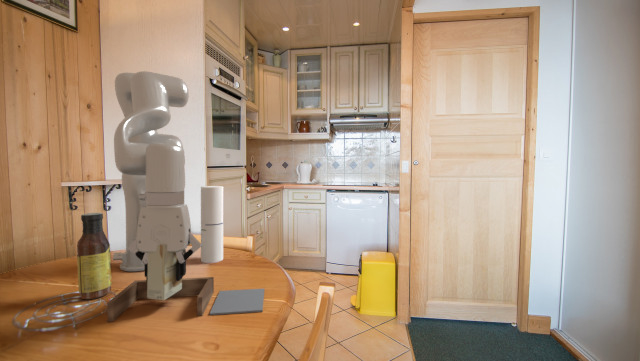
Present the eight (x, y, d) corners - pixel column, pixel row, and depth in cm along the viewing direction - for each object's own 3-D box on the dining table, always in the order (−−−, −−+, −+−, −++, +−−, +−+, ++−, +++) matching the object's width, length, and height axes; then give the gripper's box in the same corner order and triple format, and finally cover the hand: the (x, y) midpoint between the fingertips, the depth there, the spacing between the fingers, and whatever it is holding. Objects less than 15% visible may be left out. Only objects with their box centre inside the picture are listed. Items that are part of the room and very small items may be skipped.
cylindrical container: (218, 263, 91) (218, 187, 90) (197, 262, 91) (196, 187, 90) (226, 256, 98) (226, 186, 97) (206, 256, 98) (206, 185, 97)
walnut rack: (107, 321, 55) (107, 302, 55) (135, 297, 66) (134, 280, 66) (202, 315, 58) (202, 297, 58) (213, 292, 69) (213, 277, 69)
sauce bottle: (117, 291, 69) (116, 212, 68) (89, 302, 63) (88, 216, 62) (99, 287, 71) (98, 211, 70) (71, 298, 65) (69, 214, 64)
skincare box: (164, 301, 59) (164, 245, 59) (146, 299, 60) (146, 243, 59) (183, 288, 66) (183, 237, 65) (166, 286, 66) (167, 236, 66)
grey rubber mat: (209, 315, 59) (209, 313, 59) (219, 292, 69) (219, 290, 69) (262, 311, 60) (262, 309, 60) (264, 290, 71) (264, 288, 71)
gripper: (113, 201, 56) (114, 287, 57) (201, 202, 59) (201, 284, 60) (132, 197, 64) (132, 273, 65) (209, 197, 67) (209, 271, 68)
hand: (165, 278), depth 63 cm, fingers closed on skincare box, 5 cm apart
